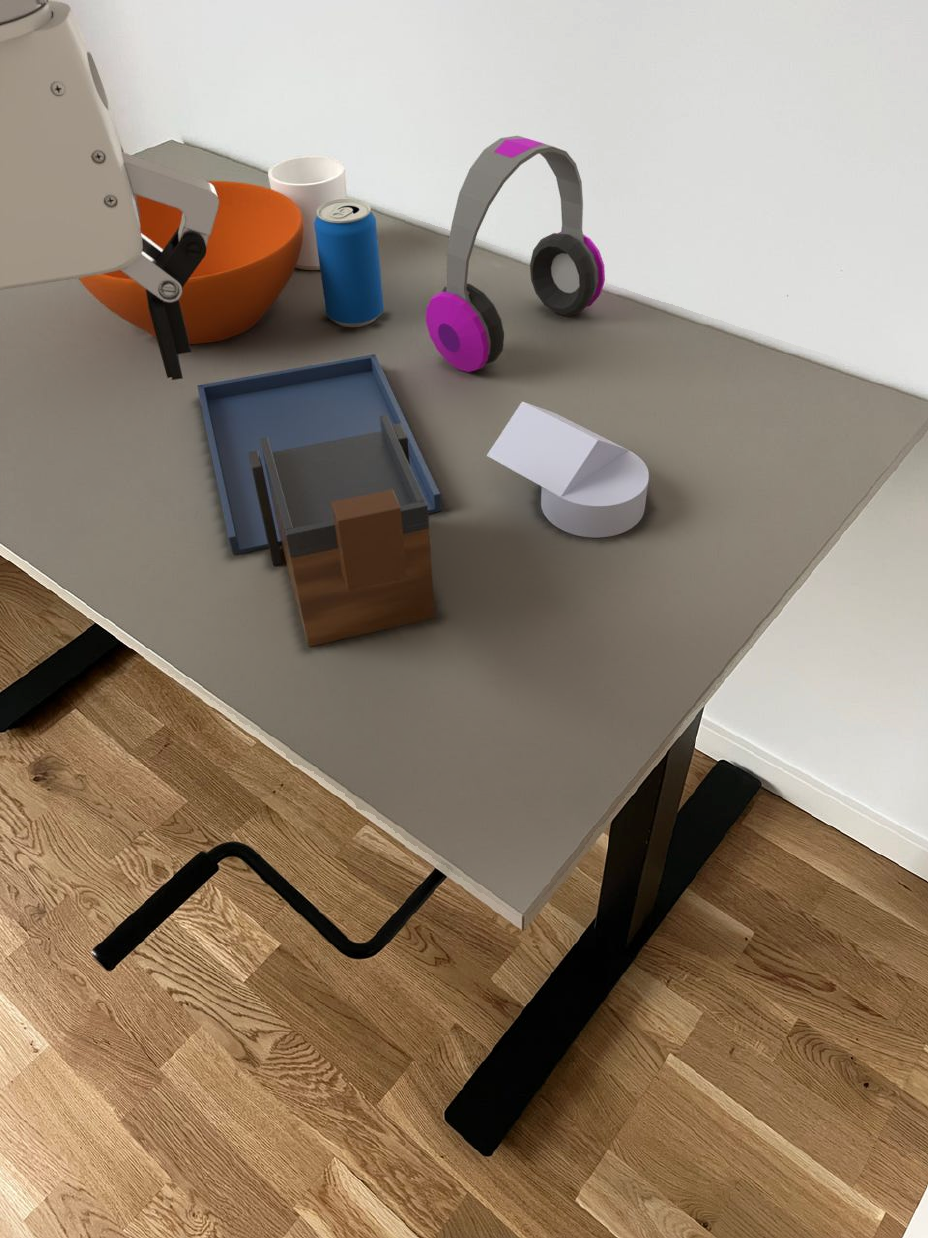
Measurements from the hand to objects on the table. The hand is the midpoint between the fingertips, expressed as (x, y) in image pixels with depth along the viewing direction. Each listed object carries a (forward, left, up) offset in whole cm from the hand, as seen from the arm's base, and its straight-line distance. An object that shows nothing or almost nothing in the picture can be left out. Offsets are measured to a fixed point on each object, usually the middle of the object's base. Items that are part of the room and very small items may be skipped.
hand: (75, 382), depth 49 cm
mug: (+12, +75, -28) cm, 81 cm away
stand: (+12, +14, -28) cm, 34 cm away
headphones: (+32, +50, -28) cm, 66 cm away
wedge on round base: (+32, +22, -28) cm, 48 cm away
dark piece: (+12, +11, -19) cm, 25 cm away
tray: (+9, +32, -28) cm, 44 cm away
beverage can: (+15, +58, -28) cm, 66 cm away
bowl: (-2, +62, -28) cm, 68 cm away
